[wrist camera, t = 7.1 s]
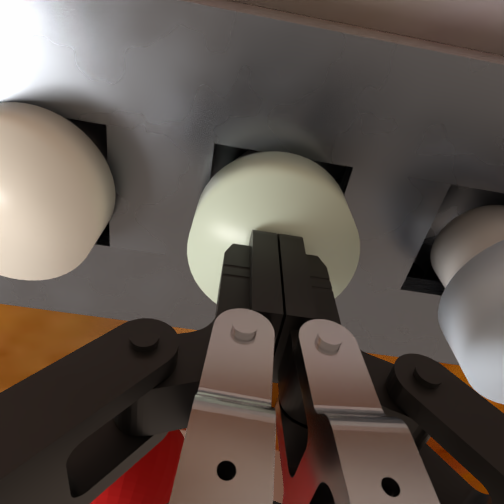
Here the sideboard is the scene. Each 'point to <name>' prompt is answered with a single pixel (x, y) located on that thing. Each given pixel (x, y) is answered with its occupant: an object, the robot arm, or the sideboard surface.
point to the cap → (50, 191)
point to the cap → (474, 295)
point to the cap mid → (272, 215)
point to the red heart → (148, 476)
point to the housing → (259, 145)
